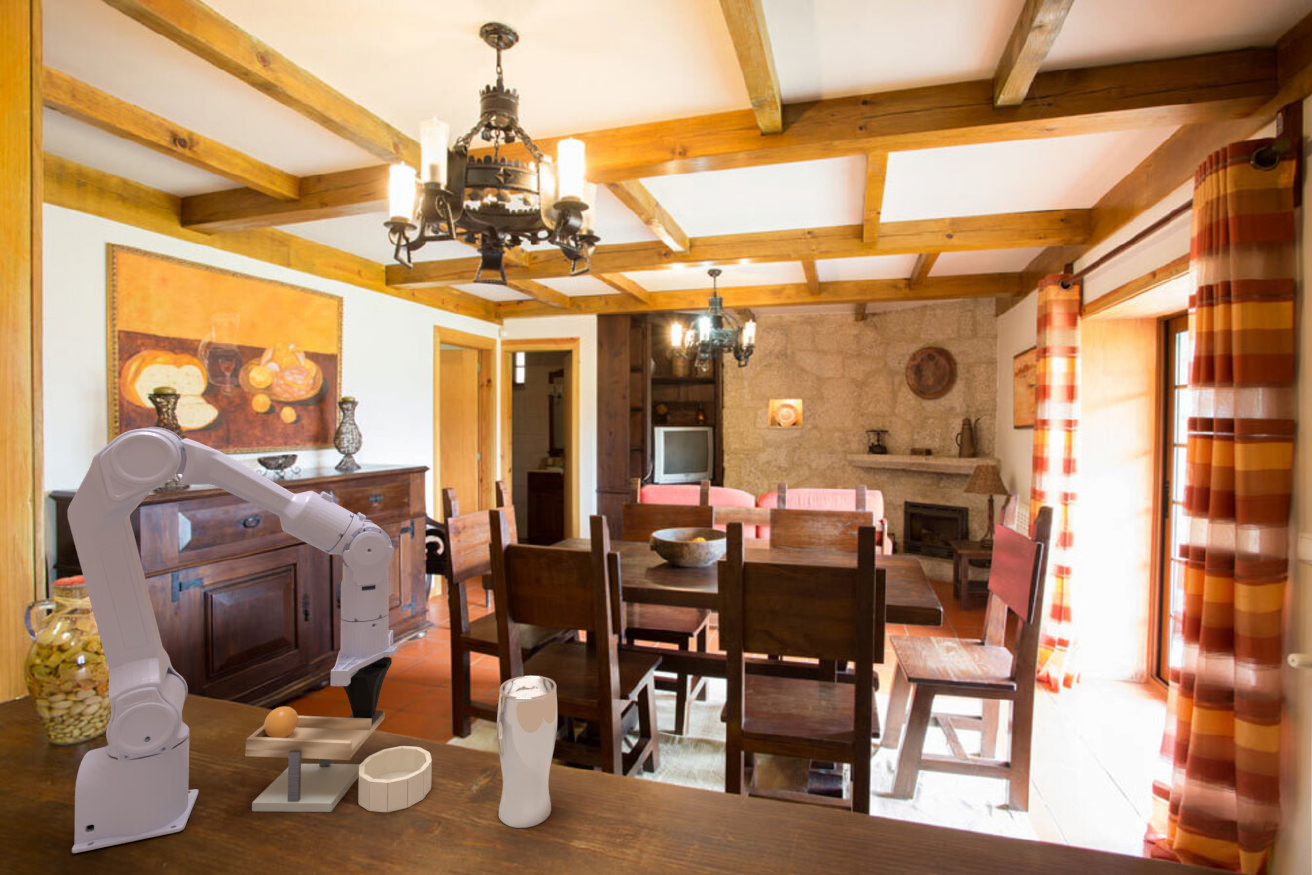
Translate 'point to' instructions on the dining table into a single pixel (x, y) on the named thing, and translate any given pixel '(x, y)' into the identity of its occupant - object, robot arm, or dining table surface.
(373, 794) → the cup
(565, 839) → the dining table surface
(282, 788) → the stand
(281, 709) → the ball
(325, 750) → the tilting wooden tray
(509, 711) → the beer glass
